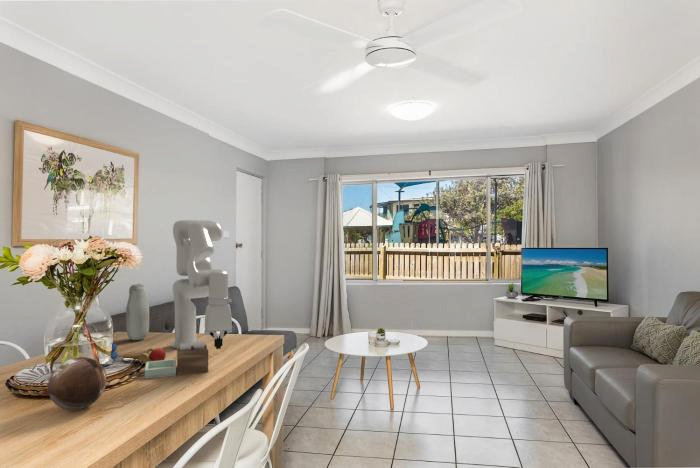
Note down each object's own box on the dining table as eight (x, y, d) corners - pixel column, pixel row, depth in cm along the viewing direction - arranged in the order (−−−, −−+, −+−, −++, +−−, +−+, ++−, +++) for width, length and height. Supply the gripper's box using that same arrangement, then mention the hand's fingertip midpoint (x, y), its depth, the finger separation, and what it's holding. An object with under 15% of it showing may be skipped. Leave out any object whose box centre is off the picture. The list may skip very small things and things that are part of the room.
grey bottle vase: (137, 337, 229) (137, 282, 229) (153, 338, 225) (153, 283, 226) (121, 341, 219) (121, 284, 220) (137, 342, 216) (137, 285, 216)
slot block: (177, 366, 176) (177, 346, 176) (206, 363, 180) (206, 343, 180) (177, 375, 165) (177, 353, 165) (208, 371, 169) (208, 350, 169)
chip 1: (179, 353, 173) (179, 343, 173) (190, 352, 174) (190, 342, 174) (180, 356, 169) (180, 345, 169) (191, 355, 171) (191, 344, 171)
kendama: (118, 368, 179) (158, 363, 176) (117, 352, 180) (158, 347, 178) (130, 366, 187) (169, 361, 184) (130, 350, 188) (169, 346, 185)
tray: (146, 369, 172) (146, 361, 172) (175, 366, 176) (175, 359, 176) (144, 378, 161) (144, 370, 161) (176, 375, 165) (176, 367, 165)
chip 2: (193, 352, 175) (193, 342, 175) (204, 351, 176) (204, 341, 176) (193, 354, 171) (193, 344, 171) (204, 353, 172) (204, 343, 172)
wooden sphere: (34, 415, 128) (35, 363, 128) (79, 397, 142) (79, 350, 143) (76, 420, 124) (76, 366, 124) (117, 401, 138) (117, 353, 139)
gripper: (236, 299, 183) (236, 344, 183) (198, 301, 177) (198, 348, 177) (238, 302, 176) (238, 348, 176) (199, 304, 170) (199, 352, 170)
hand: (218, 348), depth 176 cm, fingers closed
